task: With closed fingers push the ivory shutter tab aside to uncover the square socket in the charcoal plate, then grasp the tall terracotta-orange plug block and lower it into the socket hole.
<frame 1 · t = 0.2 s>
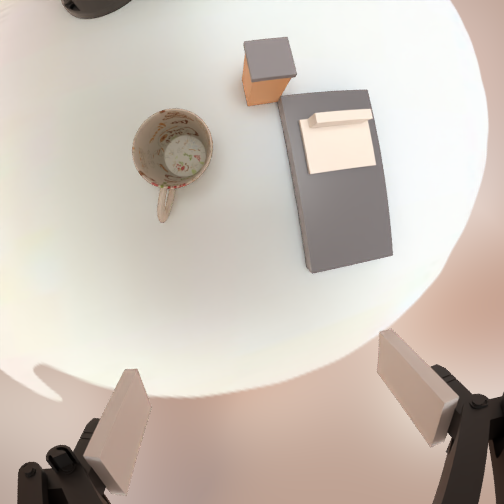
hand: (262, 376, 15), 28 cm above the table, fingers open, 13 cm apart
socket: (330, 145, 40), on the table
mug: (182, 171, 40), on the table
shutter: (343, 141, 35), point 5 cm above the table, slide at 0.0 cm
plug: (259, 90, 38), on the table
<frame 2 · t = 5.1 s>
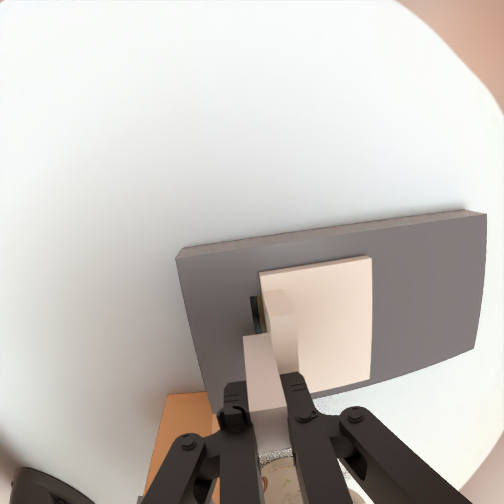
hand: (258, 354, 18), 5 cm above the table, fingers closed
socket: (293, 313, 23), on the table
mug: (304, 471, 27), on the table
shutter: (328, 345, 18), point 5 cm above the table, slide at 1.2 cm, touching gripper
plug: (195, 410, 24), on the table
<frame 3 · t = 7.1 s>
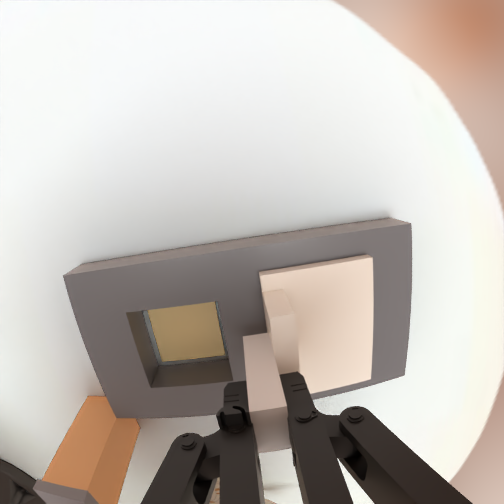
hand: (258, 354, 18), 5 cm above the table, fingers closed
socket: (186, 329, 22), on the table
shutter: (329, 345, 17), point 5 cm above the table, slide at 9.1 cm, touching gripper
plug: (113, 412, 24), on the table
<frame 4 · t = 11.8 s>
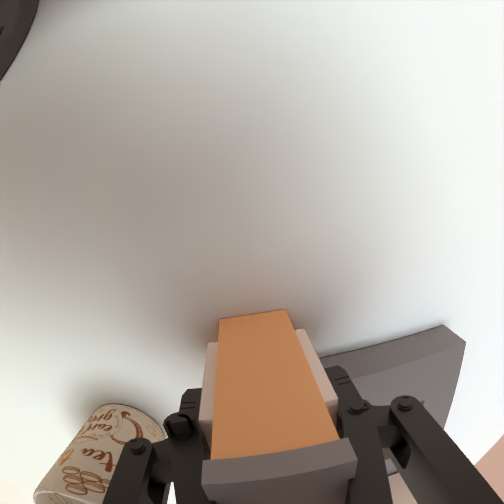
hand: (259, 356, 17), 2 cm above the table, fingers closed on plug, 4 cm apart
socket: (370, 416, 21), on the table
mug: (128, 444, 21), on the table
plug: (257, 342, 19), on the table, touching gripper
when the fingers open (4 cm above the table, at t = 17.7 s): plug drops 2 cm, resting on socket.
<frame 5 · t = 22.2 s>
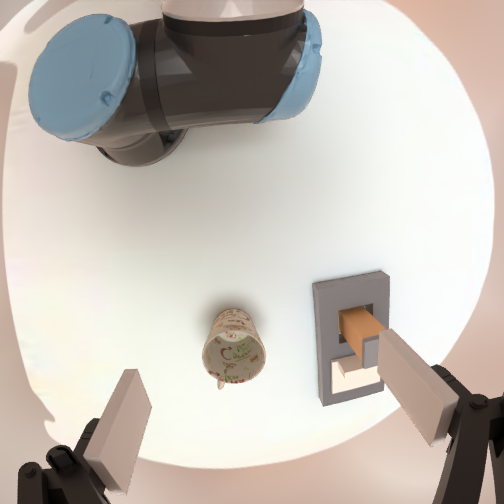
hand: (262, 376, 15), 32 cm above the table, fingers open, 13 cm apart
socket: (349, 316, 50), on the table
mug: (230, 336, 49), on the table
shutter: (360, 377, 47), point 5 cm above the table, slide at 9.1 cm
plug: (350, 317, 50), resting on socket
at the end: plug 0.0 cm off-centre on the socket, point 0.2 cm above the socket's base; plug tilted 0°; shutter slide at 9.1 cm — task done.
